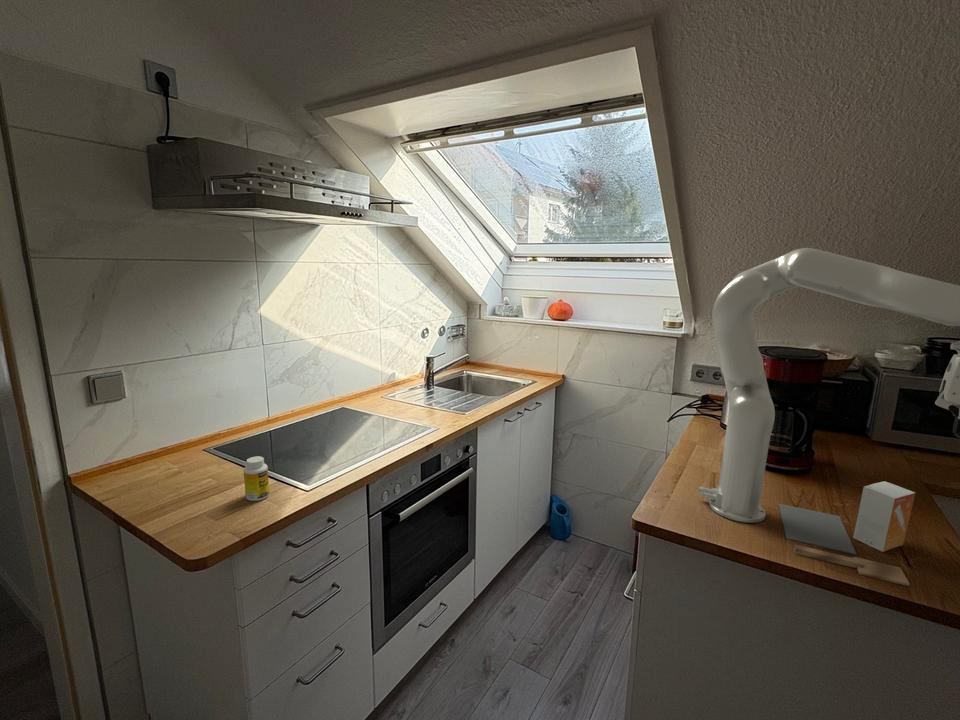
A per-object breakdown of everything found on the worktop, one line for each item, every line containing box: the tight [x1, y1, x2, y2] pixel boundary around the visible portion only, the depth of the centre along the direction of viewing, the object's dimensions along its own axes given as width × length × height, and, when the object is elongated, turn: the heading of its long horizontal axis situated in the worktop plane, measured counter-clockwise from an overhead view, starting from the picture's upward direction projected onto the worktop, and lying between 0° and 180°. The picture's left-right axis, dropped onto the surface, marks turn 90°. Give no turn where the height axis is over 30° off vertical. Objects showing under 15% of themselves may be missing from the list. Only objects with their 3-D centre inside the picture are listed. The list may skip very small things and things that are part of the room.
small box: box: [853, 481, 916, 553], centre depth 110 cm, size 8×6×13 cm
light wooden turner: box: [793, 544, 911, 587], centre depth 102 cm, size 19×6×1 cm, turn 64°
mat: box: [778, 503, 857, 556], centre depth 116 cm, size 13×18×1 cm
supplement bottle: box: [243, 455, 270, 502], centre depth 123 cm, size 6×6×10 cm
